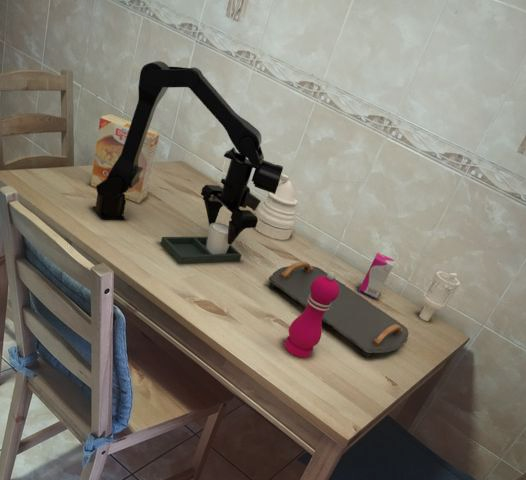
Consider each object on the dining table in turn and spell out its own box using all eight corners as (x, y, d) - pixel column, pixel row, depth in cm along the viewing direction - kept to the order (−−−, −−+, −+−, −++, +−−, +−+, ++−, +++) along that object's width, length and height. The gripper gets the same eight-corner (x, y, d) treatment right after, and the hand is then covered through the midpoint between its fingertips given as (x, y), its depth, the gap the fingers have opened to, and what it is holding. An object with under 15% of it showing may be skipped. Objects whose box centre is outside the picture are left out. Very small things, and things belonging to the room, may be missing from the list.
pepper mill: (280, 336, 115) (313, 259, 105) (310, 343, 117) (345, 268, 106) (284, 355, 110) (319, 276, 99) (314, 362, 111) (352, 285, 101)
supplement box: (378, 292, 154) (395, 259, 148) (375, 300, 149) (393, 266, 143) (361, 284, 154) (377, 251, 148) (357, 291, 149) (375, 257, 143)
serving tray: (256, 281, 133) (263, 260, 130) (306, 269, 150) (314, 250, 147) (372, 368, 117) (384, 348, 114) (414, 344, 134) (425, 325, 131)
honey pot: (258, 235, 159) (277, 180, 149) (248, 217, 168) (266, 164, 158) (294, 242, 164) (315, 190, 154) (283, 225, 173) (302, 174, 164)
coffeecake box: (89, 185, 147) (99, 116, 136) (99, 179, 153) (109, 112, 142) (138, 204, 148) (152, 137, 137) (147, 197, 154) (160, 132, 143)
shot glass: (229, 251, 142) (236, 228, 138) (225, 260, 136) (232, 237, 132) (205, 242, 141) (212, 219, 137) (200, 252, 136) (207, 228, 132)
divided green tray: (179, 264, 127) (181, 256, 126) (160, 243, 132) (161, 236, 131) (239, 261, 139) (241, 254, 138) (219, 243, 145) (222, 236, 144)
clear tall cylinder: (439, 322, 151) (466, 280, 143) (427, 326, 146) (454, 282, 138) (420, 309, 154) (446, 267, 146) (408, 312, 149) (434, 268, 141)
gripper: (282, 198, 128) (262, 252, 136) (241, 166, 138) (225, 219, 146) (248, 195, 121) (229, 253, 129) (207, 163, 131) (192, 218, 139)
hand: (220, 235), depth 136 cm, fingers open, 9 cm apart
